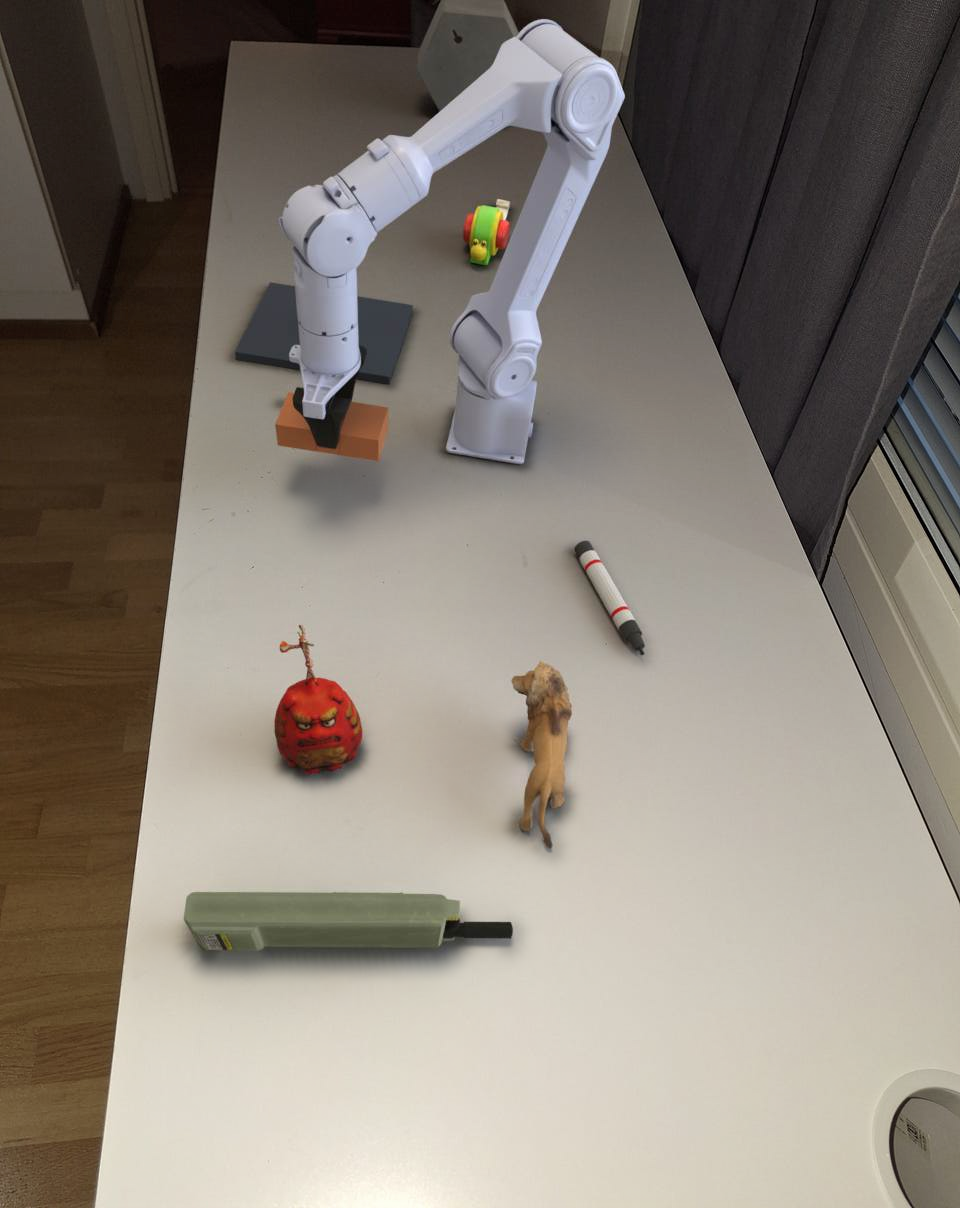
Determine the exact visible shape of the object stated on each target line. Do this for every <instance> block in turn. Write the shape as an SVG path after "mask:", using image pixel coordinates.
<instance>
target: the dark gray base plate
mask: <svg viewBox="0 0 960 1208" xmlns="http://www.w3.org/2000/svg"><path fill="white" fill-rule="evenodd" d="M357 306H358V343H359V345H361V346H363V347H365V348H366V349H367V356H366V359H365V362H364V364H363V366H362V367H361V369H360V371H359V373H358V375H357V378H356V380H359V381H360V380H361V381H368V382H373V383H379V384H385V385H390V384H391V382H392V381H391V380H392V378H393V375H394V372H395V369H396V365H397V363H398V359H399V356H400V353H401V350H402V346H403V343H404V340H405V337H406V334H407V330H408V327H409V324H410V322H411V319H412V315H413V309H414V308H413V307H414V305H413V304H408V303H402V302H395V301H389V300H383V299H378V298H371V297H365V296H358V295H357ZM294 345H300V340H299V327H298V317H297V305H296V293H295V285H290V284H283V283H279V282H269V284H268V286H267V287H266V290H265V292H264V294H263V296H262V297H261V300H260V302H259V303H258V305H257V307H256V309H255V311H254V313H253V315H252V317H251V320H250V321H249V323H248V325H247V327H246V329H245V331H244V333H243V334H242V337H241V339H240V341H239V343H238V345H237V347H236V349H235V351H234V355H235V356H234V357H235V360H238V361H243V362H250V363H256V364H262V365H268V366H275V367H281V368H285V369H293V370H299V371H301V370H300V365H299V364H298V363H294V362H291V361H290V359H289V353H290V351H291V348H292V347H293V346H294Z"/></svg>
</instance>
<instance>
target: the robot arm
mask: <svg viewBox="0 0 960 1208" xmlns="http://www.w3.org/2000/svg"><path fill="white" fill-rule="evenodd" d="M518 32H519V34H518V35H517V36H516V37H513V38H511V39H509V40H507V41H506V42H504V43H503V44H502V45H501V47H500V50H499V52H498V54H497V56H496V59H495V61H494V63H493V65H492V66H491V67H490V68H489V69H488V70H487V71H486V72H485V73H484V74H482V75H481V76H480V77H479V78H478V79H477V80H476V81H474V82H473V83H472V84H471V85H470V86H469V87H468V88H466V89H465V90H464V91H463V92H462V93H461V94H459V95H458V96H457V97H456V98H455V99H454V100H453V101H451V102H450V103H449V104H448V105H447V106H446V107H445V108H443V109H442V110H441V111H438V113H437V114H435V115H434V116H433V117H432V118H431V119H429V120H428V121H427V122H426V123H425V124H424V125H423V126H422V127H421V128H419V129H418V130H417V131H416V132H415V133H413V134H412V135H411V136H403V135H396V134H388V135H387V136H386V137H384V138H383V139H382V140H381V138H380V137H379V138H378V137H377V138H376V139H374V140H372V142H370V143H368V145H366V149H367V151H365V152H364V153H363V154H362V155H360V156H359V157H357V159H355V160H354V161H352V162H351V163H349V165H347V166H346V167H344V168H343V169H342V170H340V171H339V172H338V173H336V174H334V175H333V176H332V175H330V177H328V178H327V179H325V180H324V181H323V182H322V184H314V185H307V186H304V187H301V188H300V189H298V190H296V191H295V192H293V194H292V195H291V196H290V197H289V198H288V200H287V202H286V204H285V206H284V208H283V212H282V216H279V217H278V225H279V228H280V230H281V232H282V234H283V235H284V236H285V237H286V239H287V240H288V241H289V242H291V244H292V246H293V247H292V260H293V261H292V262H293V271H294V272H293V281H294V286H295V293H296V305H297V317H298V327H299V340H300V345H294V346H293V347H292V348H291V351H290V353H289V359H290V361H291V362H294V363H298V364H299V365H300V370H299V371H300V375H301V382H302V387H299V386H297V387H296V388H295V390H294V392H293V393H294V395H293V398H292V399H293V405H294V408H295V409H296V410H297V411H298V412H299V413H300V414H301V415H302V416H303V417H304V419H305V420H306V422H307V423H308V425H309V428H310V430H311V432H312V435H313V437H314V440H315V442H316V444H317V446H318V447H325V448H331V449H336V447H337V445H338V442H339V438H340V431H341V424H342V419H343V418H344V416H345V415H346V413H347V411H348V409H349V406H350V403H351V402H353V398H354V397H353V396H354V392H355V387H356V381H357V379H356V378H357V375H358V373H359V371H360V369H361V367H362V366H363V364H364V362H365V359H366V356H367V349H366V348H365V347H363V346H361V345H359V343H358V306H357V296H358V275H357V268H358V267H359V266H360V265H361V264H362V262H363V261H364V259H365V257H366V255H367V253H368V249H369V247H370V245H371V244H372V243H373V242H374V241H375V240H376V237H377V236H378V233H379V232H380V231H382V230H383V229H384V228H385V227H387V226H389V224H391V223H392V222H394V221H395V220H397V218H399V217H400V216H402V215H403V214H404V213H405V212H407V211H408V210H409V209H411V208H412V207H414V206H415V205H416V204H418V203H419V202H420V201H422V200H423V199H424V198H425V197H427V196H428V194H429V191H430V186H431V181H432V177H433V174H434V173H436V172H437V171H439V170H441V169H442V168H444V167H446V166H447V165H449V164H450V163H452V162H453V161H454V160H456V159H458V158H460V157H462V156H463V155H465V154H466V153H467V152H469V151H471V150H472V149H474V148H475V147H477V146H478V145H481V143H483V142H485V141H486V140H488V139H489V138H491V137H493V136H494V135H496V134H497V133H499V132H500V131H502V130H503V129H505V128H506V127H509V126H510V127H516V128H519V129H520V128H521V129H526V130H529V131H533V132H534V131H535V132H540V133H542V134H543V136H544V138H545V141H546V144H547V147H546V149H545V152H544V155H543V156H542V159H541V162H540V165H539V166H538V170H537V172H536V173H535V177H534V179H533V182H532V184H531V187H530V189H529V191H528V194H527V197H526V199H525V201H524V204H523V207H522V209H521V212H520V213H519V216H518V219H517V222H516V224H515V226H514V228H513V231H512V234H511V236H510V239H509V241H508V242H507V245H506V247H505V251H504V252H503V253H504V254H503V256H502V258H501V261H500V263H499V266H498V268H497V270H496V272H495V275H494V278H493V280H492V283H491V286H490V288H489V290H487V291H484V292H480V293H476V294H472V296H470V299H469V302H468V304H467V305H466V306H467V307H466V308H465V309H464V311H463V313H461V314H460V316H459V317H458V318H457V319H456V320H455V322H454V323H453V325H452V327H451V329H450V332H449V344H450V347H451V348H452V350H453V351H454V352H455V353H456V354H457V355H458V359H457V365H458V376H457V387H456V398H455V399H456V400H455V409H454V413H453V416H452V421H451V425H450V430H449V433H448V438H447V442H446V446H445V451H446V452H447V453H449V454H454V455H455V454H456V455H460V456H461V455H462V456H467V457H473V458H480V459H485V460H491V461H498V462H503V463H504V462H505V463H511V464H515V465H516V464H517V465H523V464H524V462H525V457H526V451H527V446H528V440H529V438H531V437H532V434H533V428H534V422H532V418H533V411H534V405H535V400H536V399H535V398H536V394H537V388H538V387H537V386H538V381H537V380H533V378H534V376H535V374H536V372H537V360H538V355H539V352H540V349H541V347H542V344H543V340H542V335H541V331H540V327H539V326H540V325H539V322H538V317H537V310H538V309H539V306H540V303H541V302H542V299H543V297H544V295H545V292H546V291H547V288H548V286H549V285H550V281H551V279H552V277H553V275H554V273H555V270H556V268H557V265H558V263H559V261H560V258H561V256H562V254H563V252H564V250H565V248H566V246H567V244H568V241H569V239H570V237H571V235H572V232H573V230H574V228H575V226H576V223H577V221H578V219H579V217H580V215H581V212H582V210H583V208H584V205H585V203H586V201H587V199H588V197H589V195H590V192H591V190H592V188H593V186H594V183H595V181H596V179H597V177H598V174H599V172H600V170H601V168H602V166H603V163H604V161H605V159H606V157H607V155H608V151H609V149H610V144H611V138H612V129H613V126H614V123H615V120H616V119H617V116H618V114H619V112H620V110H621V107H622V105H623V103H624V100H625V99H626V97H625V96H626V94H625V92H624V90H623V86H622V83H621V81H620V78H619V76H618V73H617V70H616V68H615V67H614V66H613V64H611V63H610V62H609V61H608V60H606V59H605V58H603V57H599V56H598V55H597V54H595V53H594V52H593V51H591V50H590V49H588V48H587V46H584V44H582V43H581V42H579V41H578V40H577V39H576V38H574V37H573V36H572V35H570V34H568V33H567V32H566V31H564V29H563V28H562V26H561V25H559V24H558V23H557V22H556V21H554V20H552V19H547V18H541V19H537V20H533V21H532V22H530V23H528V24H527V25H526V26H524V27H523V28H522V29H521V30H520V31H518Z"/></svg>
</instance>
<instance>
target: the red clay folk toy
mask: <svg viewBox="0 0 960 1208" xmlns="http://www.w3.org/2000/svg"><path fill="white" fill-rule="evenodd" d="M298 628H299V630H300V631H301V633H300V631H297V632H296V633H297V635H298V636H299V638H298V644H288V643H287V642H286V641H285V640H282V641H281V642H280V644H279V651H280V652H281V653H282V654H284V653H288V652H289V651H290V650H293V649H294V650H295V649H296V650H297V649H298V650H299V649H301V651H302V653H303V657H304V660H305V663H304V665H305V667H306V668H307V671H306V676H305V679H301V680H299V681H297V682H295V683H294V684H292V685H290V686H288V687H287V688H286V690H285V692H284V694H283V695H282V697H281V699H280V701H279V702H278V705H277V708H276V710H275V715H274V736H275V739H276V746H277V749H278V752H279V753H280V755H281V756H282V757H283V759H284V760H285V762H286V763H287V764H288V765H289V766H290V768H295V769H300V770H302V771H303V772H304V773H305V774H307V775H309V776H310V775H315V774H318V773H319V772H321V771H322V770H327V771H329V772H335V771H338V770H341V769H342V768H343V766H344V765H345V764H347V763H350V762H352V761H353V760H355V758H356V755H357V753H358V748H359V746H360V744H361V742H362V738H363V727H362V722H361V717H360V714H359V712H358V711H359V710H358V709H357V707H356V705H355V703H354V702H353V700H352V699H351V697H350V696H349V694H348V692H346V691H345V690H344V689H343V688H342V687H341V685H340V684H339V683H337V682H336V681H335V680H331V679H327V678H326V677H325V678H324V677H316V675H315V673H314V671H313V669H312V668H313V666H314V664H315V663H314V660H313V659H311V658H310V657H311V656H310V647H314V646H315V645H314V643H309V640H308V639H306V629H305V627H304V625H301V624H298ZM309 646H310V647H309Z"/></svg>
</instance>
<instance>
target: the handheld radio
mask: <svg viewBox="0 0 960 1208" xmlns="http://www.w3.org/2000/svg"><path fill="white" fill-rule="evenodd" d="M460 916H461V900H458V899H450V898H447V897H446V896H445V895H443V894H440V893H404V892H342V891H341V892H339V891H338V892H337V891H333V892H308V891H307V892H298V891H297V892H294V891H293V892H288V891H285V892H283V891H281V892H278V891H277V892H276V891H275V892H273V891H269V892H268V891H265V892H264V891H263V892H261V891H252V892H251V891H194V892H190V893H189V894H188V895H186V898H185V906H184V912H183V921H184V923H185V924H186V926H187V928H188V929H189V931H190V933H191V935H192V936H193V937H194V939H195V941H196V943H197V944H198V946H200V947H202V948H203V949H204V950H206V951H260V950H263V949H264V948H438V947H440V946H441V945H442V943H443V942H452V941H455V938H463V939H491V940H492V939H496V940H497V939H511V940H512V936H513V935H514V927H513V924H512V922H511V921H463V922H461V919H460Z"/></svg>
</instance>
